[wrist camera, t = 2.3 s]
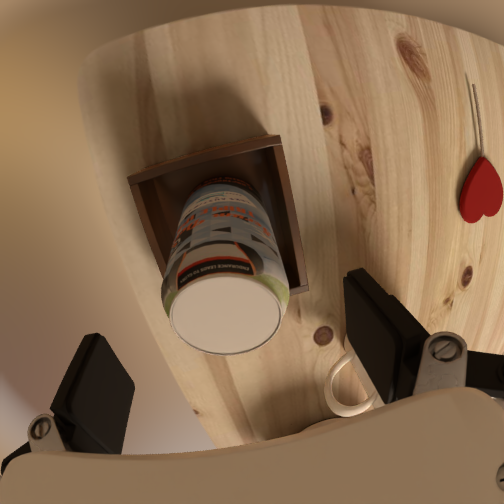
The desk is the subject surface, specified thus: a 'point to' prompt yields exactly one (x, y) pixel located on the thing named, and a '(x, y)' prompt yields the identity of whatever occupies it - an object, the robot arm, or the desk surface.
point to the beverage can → (225, 271)
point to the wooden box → (213, 165)
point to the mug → (364, 378)
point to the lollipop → (481, 185)
